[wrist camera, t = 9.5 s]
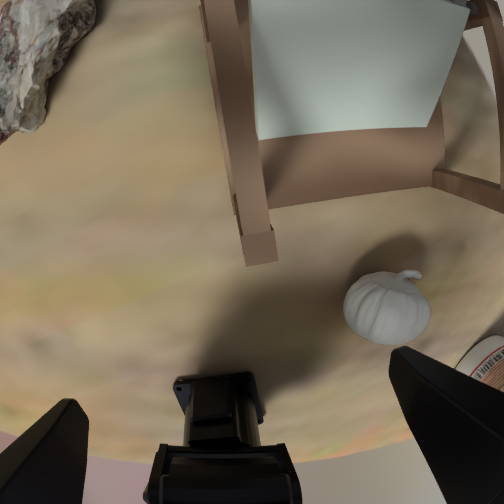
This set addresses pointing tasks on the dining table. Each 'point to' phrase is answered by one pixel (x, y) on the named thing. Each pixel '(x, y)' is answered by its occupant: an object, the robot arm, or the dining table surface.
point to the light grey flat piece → (350, 62)
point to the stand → (326, 139)
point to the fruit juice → (486, 362)
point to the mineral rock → (35, 55)
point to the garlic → (387, 307)
